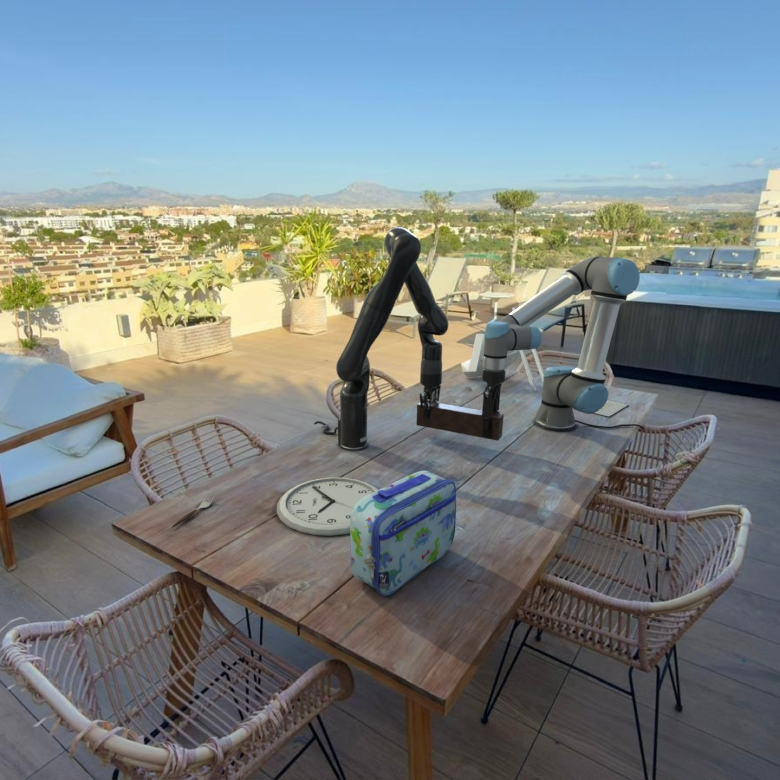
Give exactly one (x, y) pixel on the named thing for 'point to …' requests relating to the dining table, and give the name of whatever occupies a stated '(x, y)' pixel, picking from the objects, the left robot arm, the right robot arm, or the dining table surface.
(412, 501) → the lunch box
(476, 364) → the white plastic object
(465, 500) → the dining table surface
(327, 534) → the wall clock
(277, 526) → the dining table surface
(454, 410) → the walnut beam
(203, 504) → the fork
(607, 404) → the invitation card
